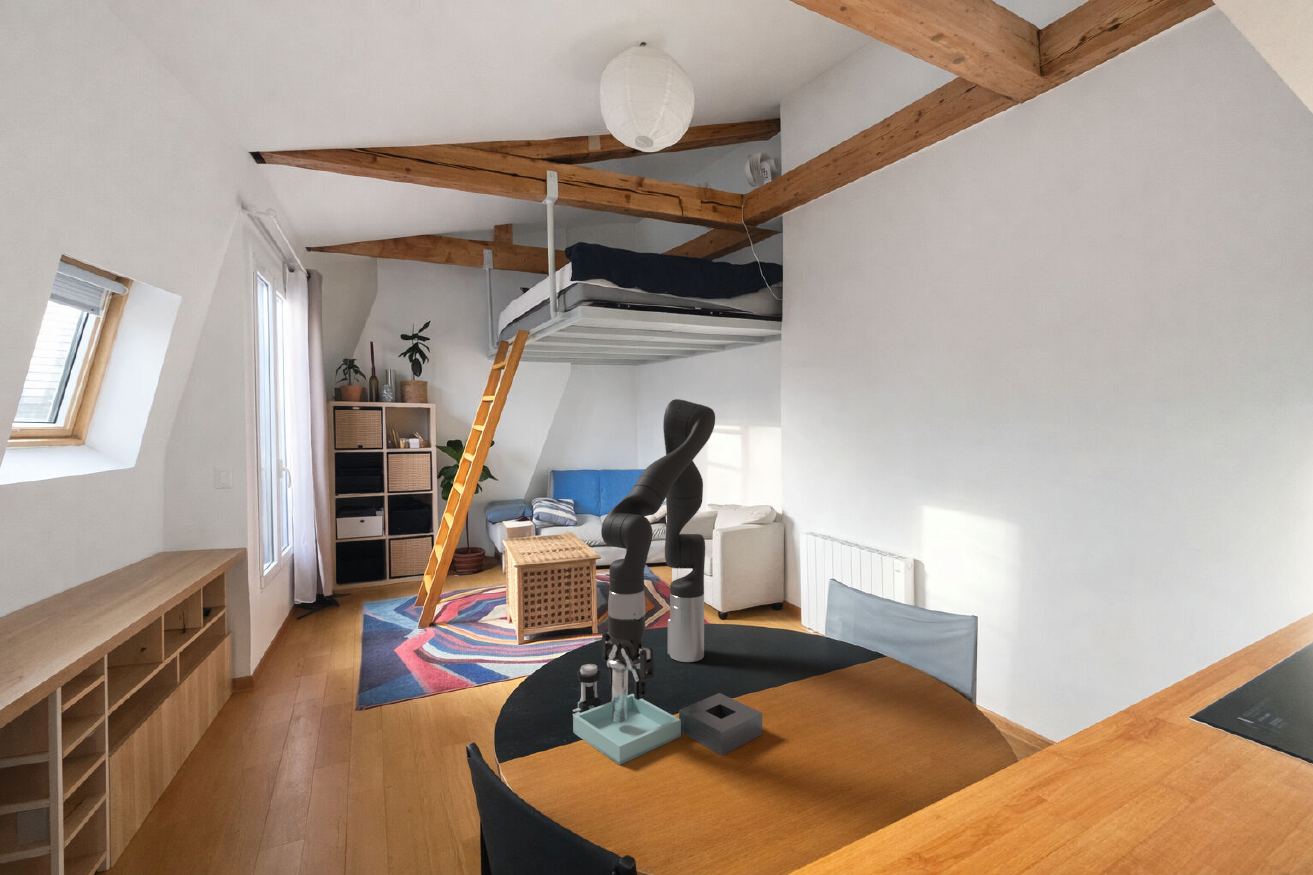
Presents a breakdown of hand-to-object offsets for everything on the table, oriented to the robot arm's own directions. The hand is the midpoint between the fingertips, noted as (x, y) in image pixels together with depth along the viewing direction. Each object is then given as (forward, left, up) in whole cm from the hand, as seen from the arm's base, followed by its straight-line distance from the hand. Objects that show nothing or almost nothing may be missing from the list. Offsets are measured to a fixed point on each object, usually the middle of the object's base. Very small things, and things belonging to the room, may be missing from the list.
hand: (626, 690), depth 124 cm
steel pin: (-3, 0, -7) cm, 7 cm away
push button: (-13, -1, -9) cm, 16 cm away
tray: (0, 0, -9) cm, 9 cm away
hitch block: (+12, +15, -9) cm, 21 cm away
